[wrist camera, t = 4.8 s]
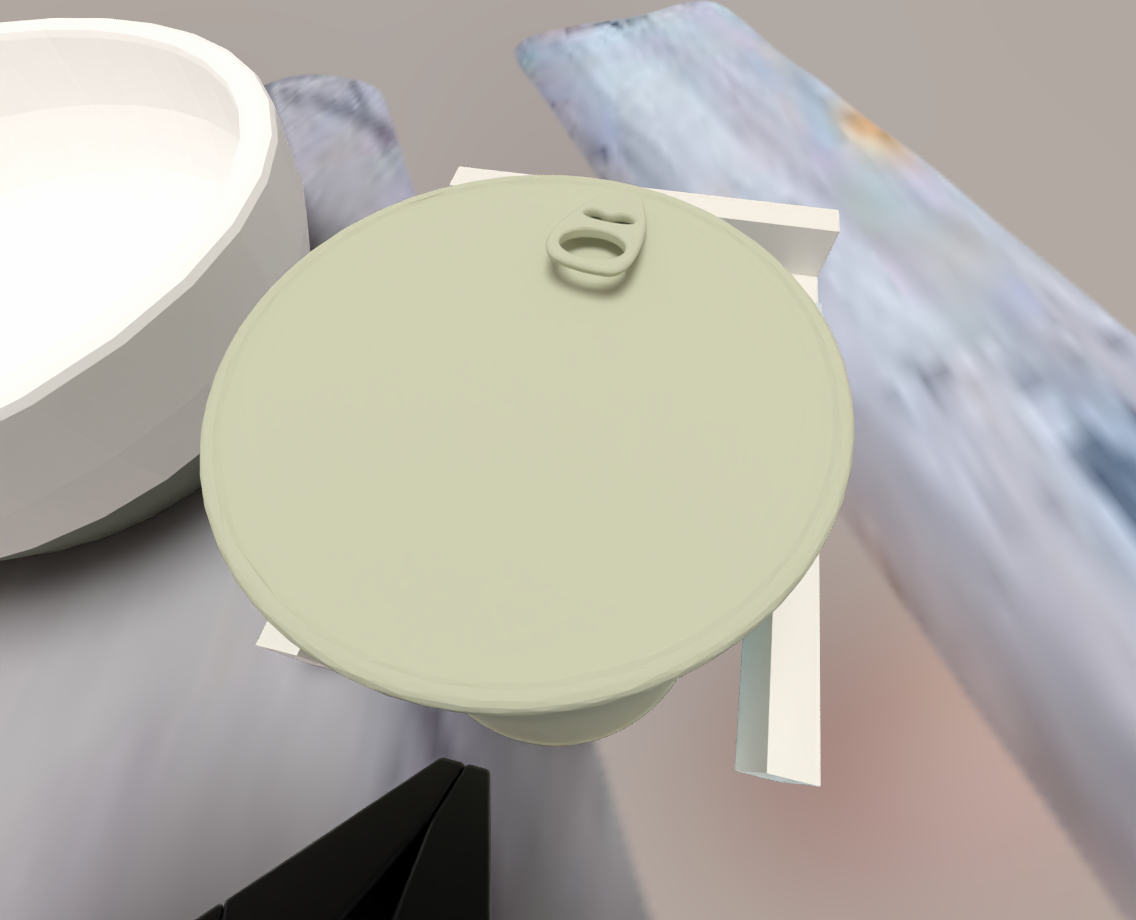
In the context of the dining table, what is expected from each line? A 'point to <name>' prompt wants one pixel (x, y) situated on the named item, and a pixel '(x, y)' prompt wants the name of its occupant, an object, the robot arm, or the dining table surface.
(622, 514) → the can
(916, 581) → the dining table surface
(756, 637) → the white angular bar frame
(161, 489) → the bowl
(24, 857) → the dining table surface
